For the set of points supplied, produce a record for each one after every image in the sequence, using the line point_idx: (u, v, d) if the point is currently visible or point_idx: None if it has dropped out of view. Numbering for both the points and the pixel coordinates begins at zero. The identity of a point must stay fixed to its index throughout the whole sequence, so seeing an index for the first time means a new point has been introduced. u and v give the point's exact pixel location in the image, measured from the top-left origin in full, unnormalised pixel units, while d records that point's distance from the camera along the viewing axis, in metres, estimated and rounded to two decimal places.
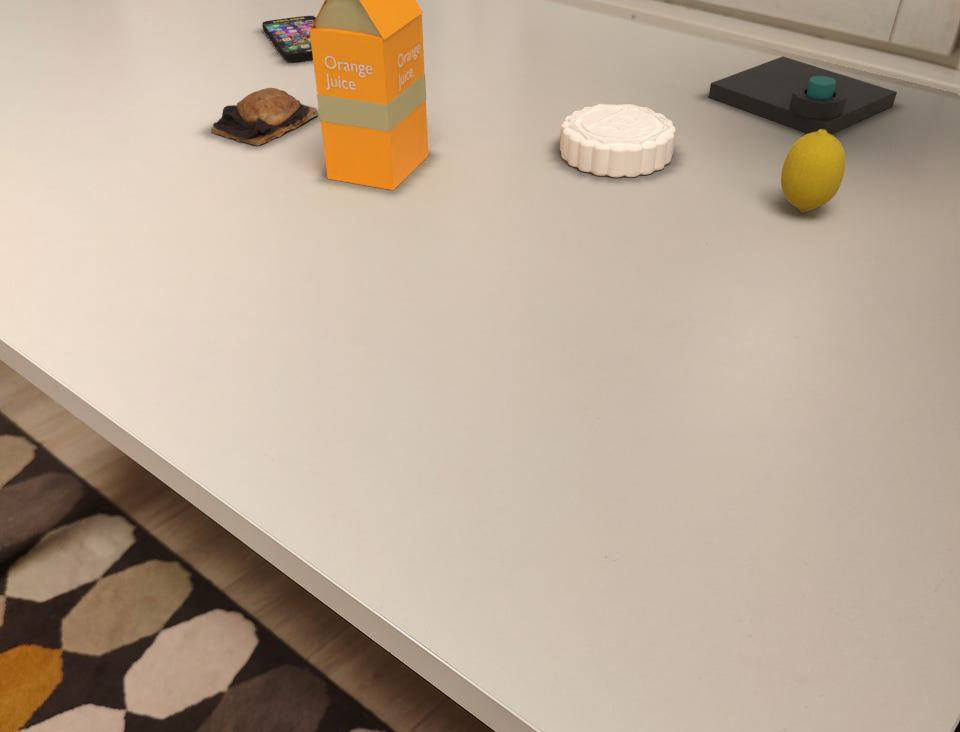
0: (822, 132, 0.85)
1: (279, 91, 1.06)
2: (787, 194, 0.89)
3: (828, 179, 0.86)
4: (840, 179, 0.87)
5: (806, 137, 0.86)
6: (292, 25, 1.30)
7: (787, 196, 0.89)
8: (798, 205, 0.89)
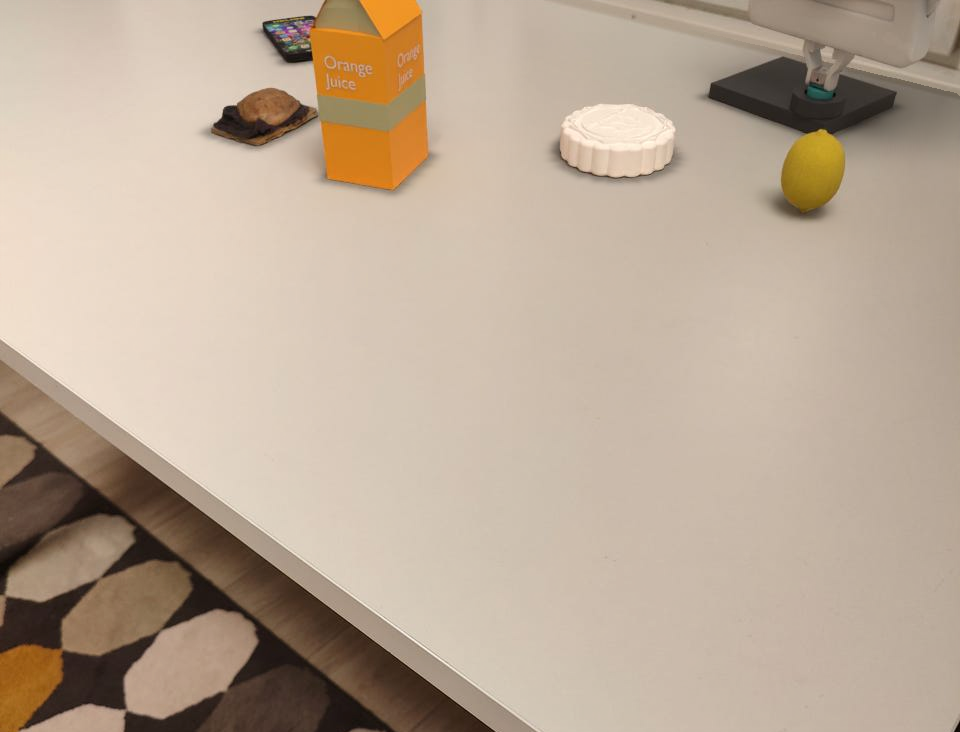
0: (822, 132, 0.85)
1: (279, 91, 1.06)
2: (787, 194, 0.89)
3: (828, 179, 0.86)
4: (840, 179, 0.87)
5: (806, 137, 0.86)
6: (292, 25, 1.30)
7: (787, 196, 0.89)
8: (798, 205, 0.89)
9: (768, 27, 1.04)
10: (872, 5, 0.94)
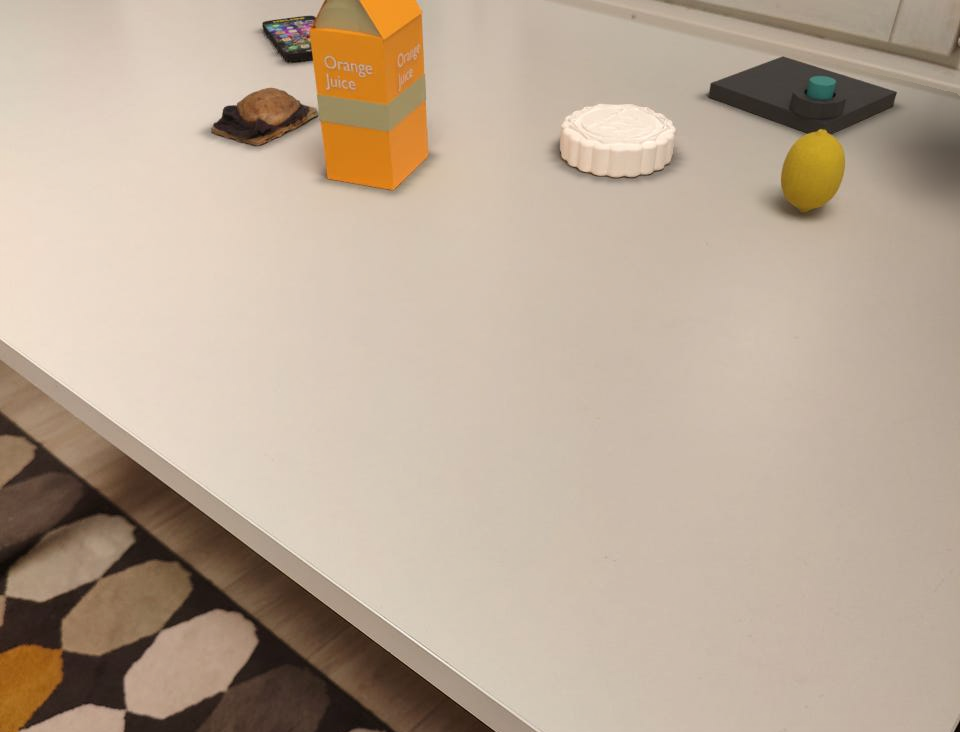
0: (822, 132, 0.85)
1: (279, 91, 1.06)
2: (787, 194, 0.89)
3: (828, 179, 0.86)
4: (840, 179, 0.87)
5: (806, 137, 0.86)
6: (292, 25, 1.30)
7: (787, 196, 0.89)
8: (798, 205, 0.89)
9: None
10: None
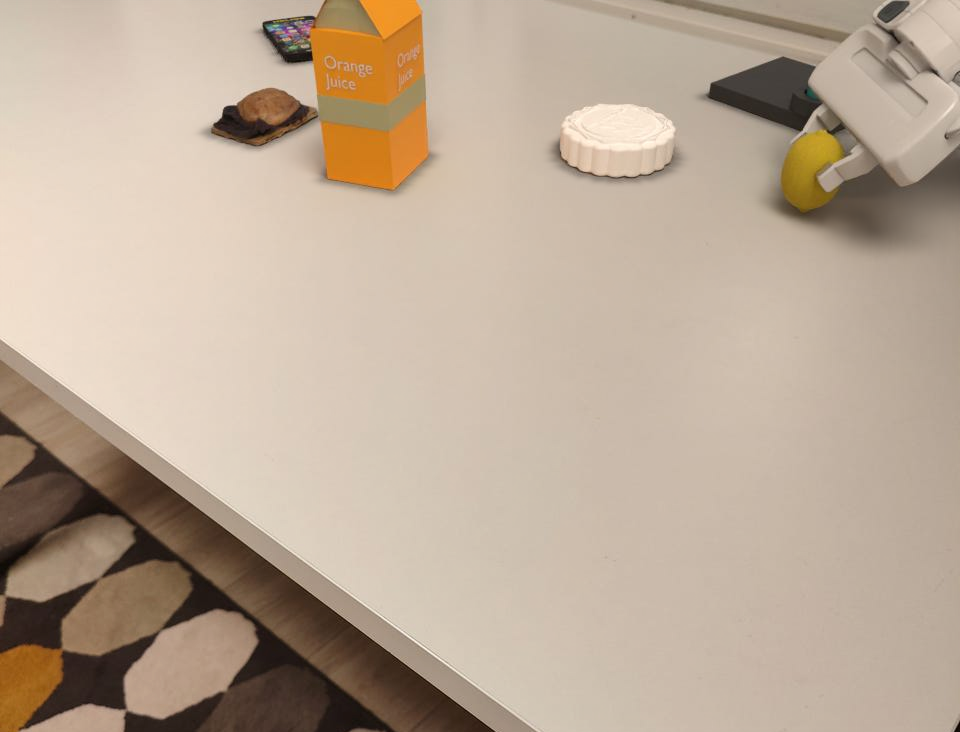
0: (822, 132, 0.85)
1: (279, 91, 1.06)
2: (787, 194, 0.89)
3: None
4: None
5: (806, 137, 0.86)
6: (292, 25, 1.30)
7: (787, 196, 0.89)
8: (798, 205, 0.89)
9: (816, 89, 0.90)
10: (911, 99, 0.80)
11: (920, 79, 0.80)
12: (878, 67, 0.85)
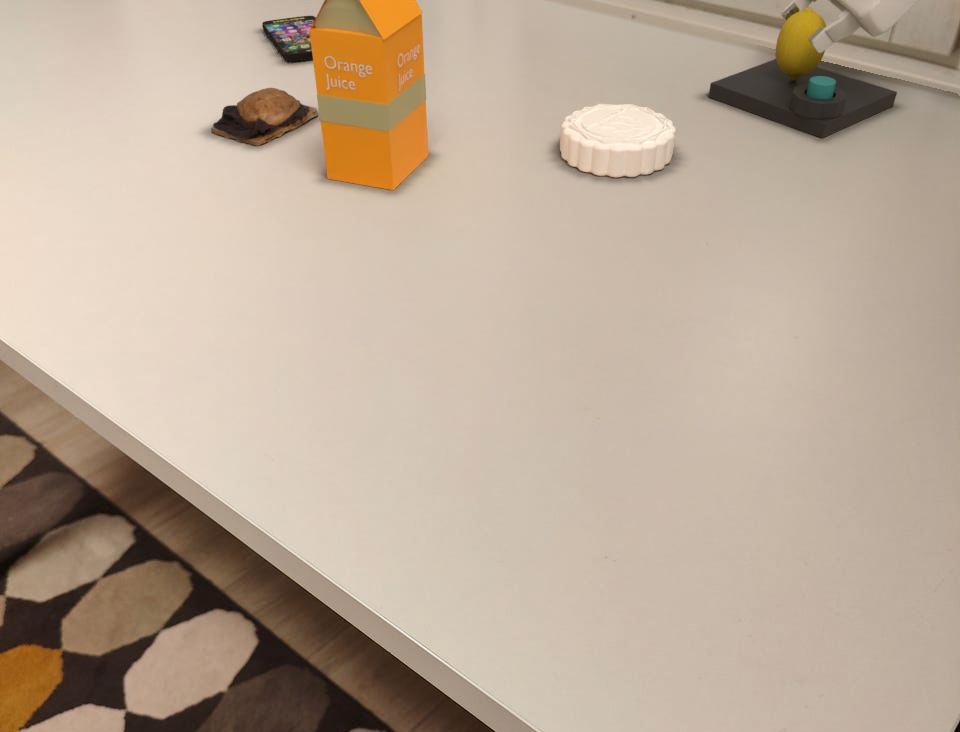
0: (808, 9, 1.06)
1: (279, 91, 1.06)
2: (781, 63, 1.10)
3: None
4: None
5: (796, 14, 1.07)
6: (292, 25, 1.30)
7: (780, 65, 1.10)
8: (789, 72, 1.10)
9: None
10: None
11: None
12: None
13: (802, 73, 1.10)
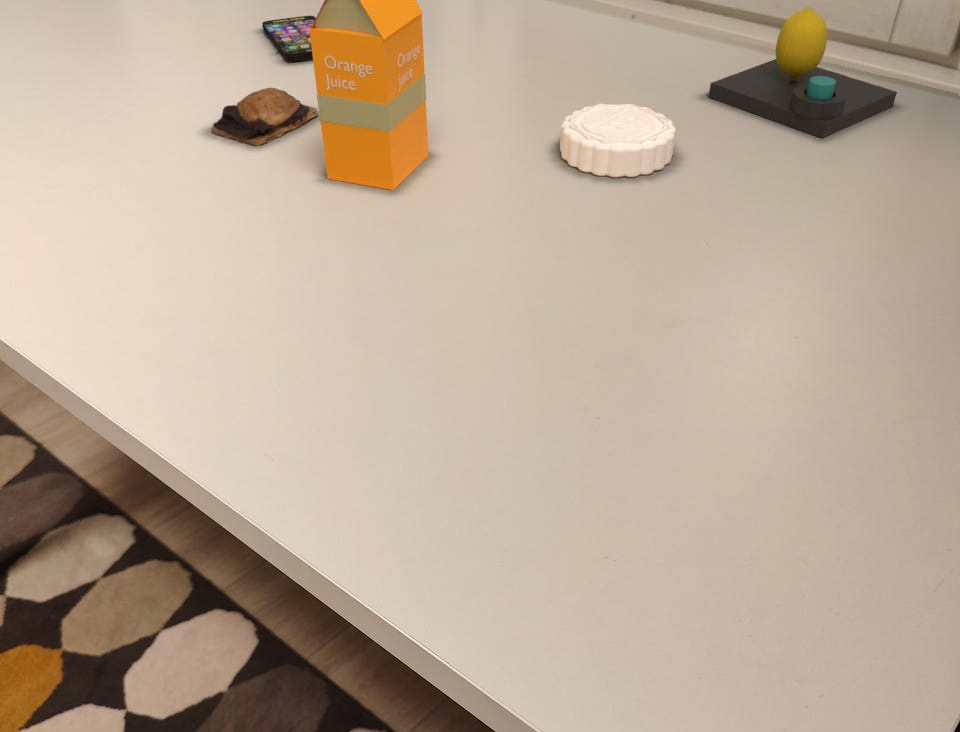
0: (808, 9, 1.06)
1: (279, 91, 1.06)
2: (781, 63, 1.10)
3: (814, 47, 1.07)
4: (823, 48, 1.08)
5: (795, 14, 1.07)
6: (292, 25, 1.30)
7: (780, 65, 1.10)
8: (789, 72, 1.10)
9: None
10: None
11: None
12: None
13: (802, 73, 1.10)
